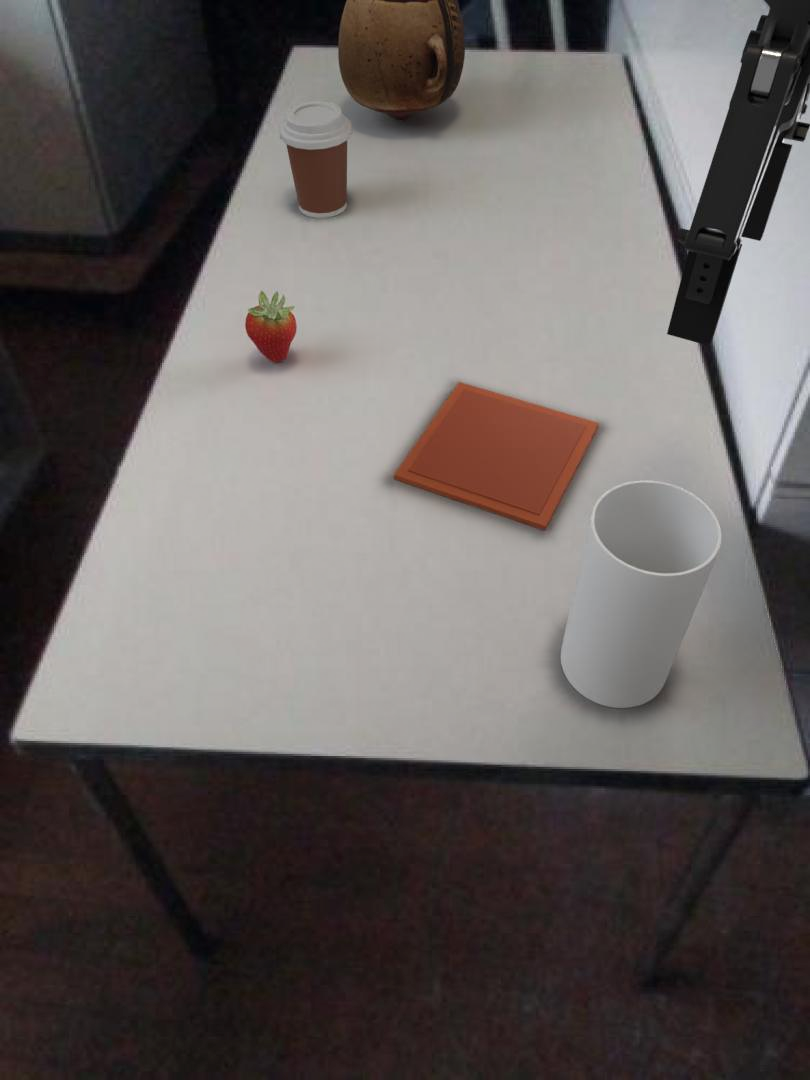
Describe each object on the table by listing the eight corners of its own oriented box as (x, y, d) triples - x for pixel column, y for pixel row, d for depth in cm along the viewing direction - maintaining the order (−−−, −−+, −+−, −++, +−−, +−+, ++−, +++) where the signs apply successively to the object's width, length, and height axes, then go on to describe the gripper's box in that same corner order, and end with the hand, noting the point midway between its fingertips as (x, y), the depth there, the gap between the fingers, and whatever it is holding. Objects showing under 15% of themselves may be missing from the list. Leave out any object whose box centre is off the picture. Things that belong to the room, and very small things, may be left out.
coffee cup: (361, 189, 116) (356, 97, 107) (352, 224, 110) (345, 130, 101) (295, 187, 117) (284, 96, 108) (282, 222, 111) (269, 128, 102)
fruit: (292, 379, 90) (282, 314, 84) (244, 372, 91) (231, 308, 85) (307, 350, 93) (299, 285, 87) (260, 343, 94) (249, 279, 88)
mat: (598, 427, 84) (599, 422, 84) (545, 530, 75) (546, 525, 75) (458, 386, 89) (459, 380, 88) (393, 479, 80) (393, 473, 79)
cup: (618, 728, 63) (664, 598, 51) (538, 656, 67) (563, 520, 55) (689, 667, 66) (749, 531, 54) (609, 601, 70) (647, 462, 58)
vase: (330, 98, 135) (311, -139, 113) (439, 83, 138) (442, -151, 115) (361, 158, 122) (347, -97, 99) (482, 141, 125) (495, -112, 102)
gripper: (804, -166, 49) (711, 187, 66) (683, -41, 35) (601, 371, 51) (945, -154, 47) (812, 209, 63) (875, -15, 33) (726, 408, 49)
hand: (717, 282), depth 57 cm, fingers open, 13 cm apart
